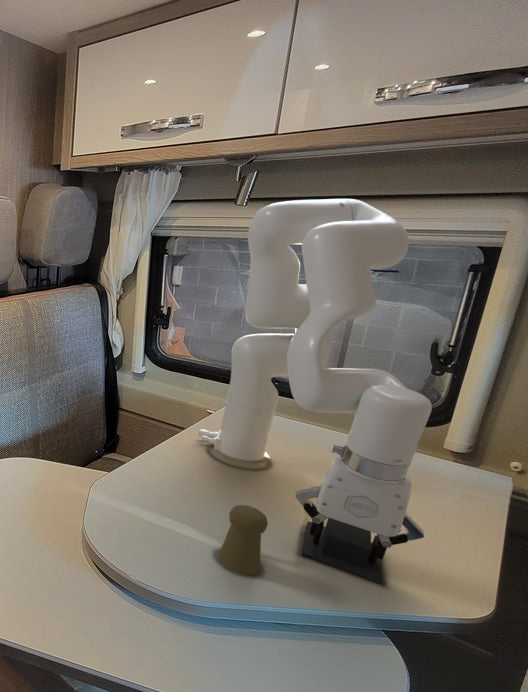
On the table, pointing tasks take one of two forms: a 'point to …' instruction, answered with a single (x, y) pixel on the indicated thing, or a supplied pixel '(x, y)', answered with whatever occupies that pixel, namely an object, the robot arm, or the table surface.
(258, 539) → the cork
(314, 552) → the base pad
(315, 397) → the robot arm
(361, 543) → the pad
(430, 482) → the table surface
